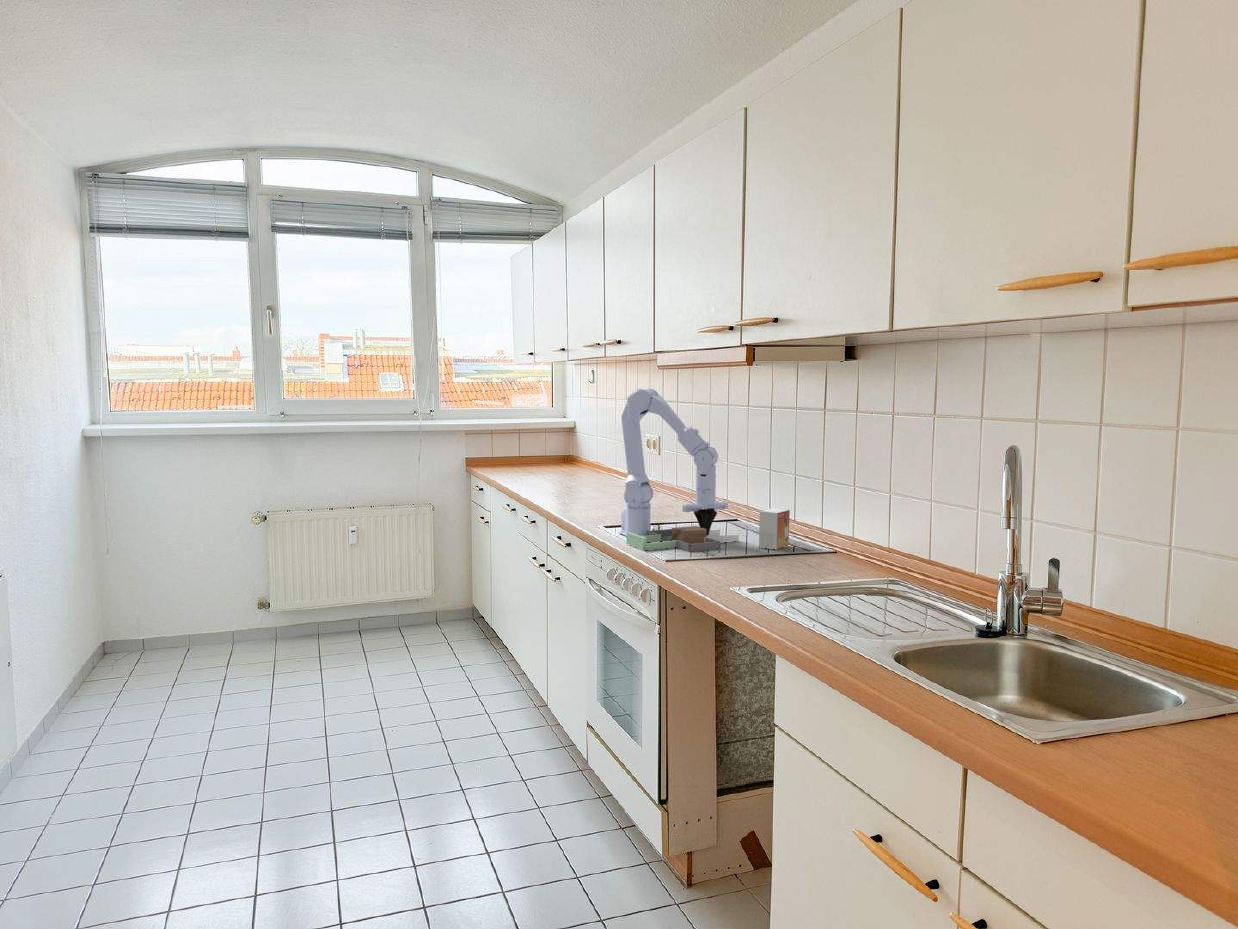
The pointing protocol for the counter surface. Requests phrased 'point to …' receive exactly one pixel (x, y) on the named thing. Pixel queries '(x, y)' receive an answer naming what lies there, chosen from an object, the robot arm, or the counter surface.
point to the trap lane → (666, 537)
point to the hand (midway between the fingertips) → (704, 535)
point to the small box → (774, 528)
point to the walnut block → (689, 534)
